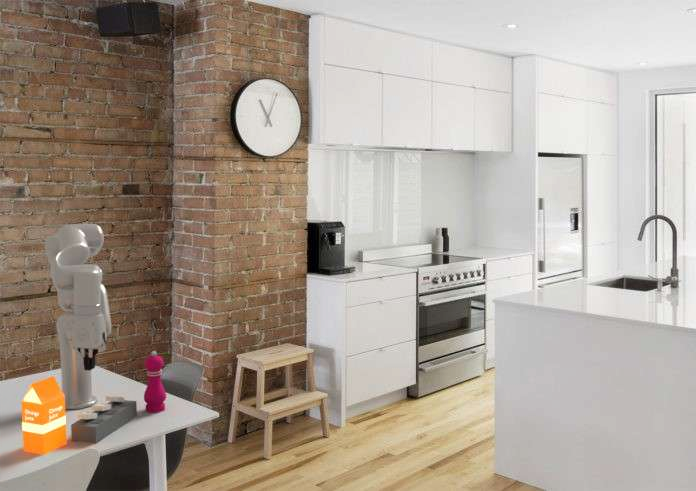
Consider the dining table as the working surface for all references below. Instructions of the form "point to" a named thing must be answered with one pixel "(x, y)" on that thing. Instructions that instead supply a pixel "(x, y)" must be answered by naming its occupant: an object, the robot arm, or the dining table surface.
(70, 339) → the robot arm
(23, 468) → the dining table surface
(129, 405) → the power strip
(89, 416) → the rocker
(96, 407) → the block
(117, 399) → the plate
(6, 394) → the dining table surface
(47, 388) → the orange juice
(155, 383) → the pepper mill
